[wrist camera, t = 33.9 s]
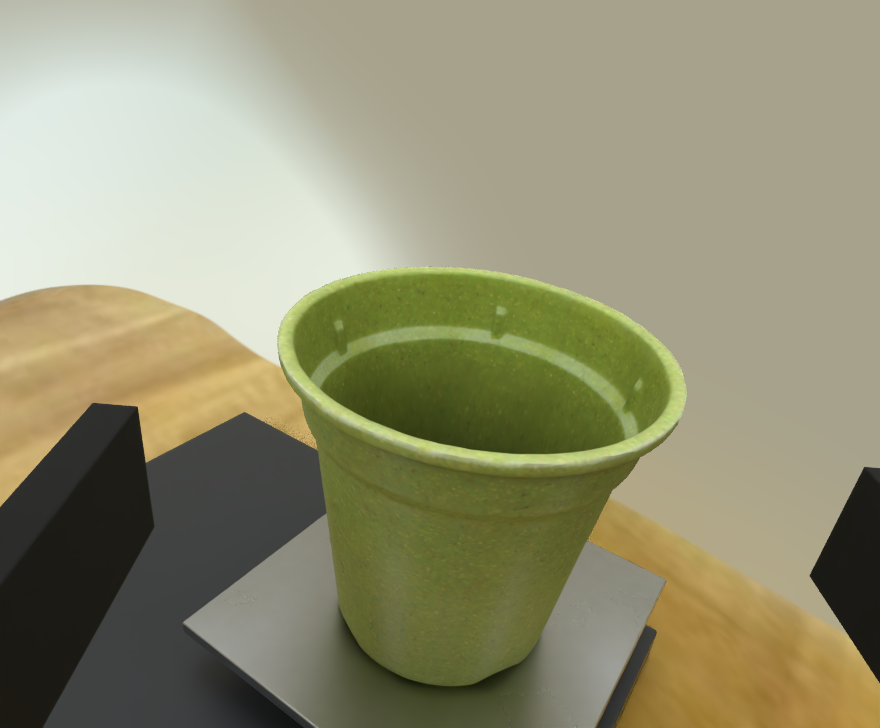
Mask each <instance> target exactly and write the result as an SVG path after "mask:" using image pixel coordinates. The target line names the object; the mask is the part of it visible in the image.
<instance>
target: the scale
mask: <svg viewBox="0 0 880 728" xmlns="http://www.w3.org/2000/svg"><path fill="white" fill-rule="evenodd" d="M146 470H147V477H148V484H149V491H150V498H151V505H152V512H153V519H154V526H155V527H154V529H153V530H152V532H151V534H150V536H149V538H148V539H147V541H146V543H145V545H144V547H143V548H142V550H141V552H140V554H139V556H138V557H137V559H136V561H135V563H134V565H133V566H132V568H131V570H130V572H129V574H128V575H127V577H126V579H125V581H124V583H123V584H122V586H121V588H120V590H119V592H118V593H117V595H116V597H115V599H114V601H113V602H112V604H111V606H110V608H109V610H108V611H107V613H106V615H105V617H104V619H103V620H102V622H101V624H100V626H99V628H98V629H97V631H96V633H95V635H94V637H93V638H92V640H91V642H90V644H89V646H88V647H87V649H86V651H85V653H84V655H83V656H82V658H81V660H80V662H79V664H78V665H77V667H76V669H75V671H74V672H73V674H72V676H71V678H70V680H69V681H68V683H67V685H66V687H65V689H64V690H63V692H62V694H61V696H60V698H59V699H58V701H57V703H56V705H55V707H54V708H53V710H52V712H51V714H50V716H49V717H48V719H47V721H46V723H45V725H44V726H43V728H304V727H303V726H301V725H300V724H299V723H298V722H296V721H295V720H294V719H292V718H291V717H290V716H289V715H287V714H286V713H285V712H284V711H282V710H281V709H280V708H279V707H277V706H276V705H275V704H274V703H272V702H271V701H270V700H269V699H267V698H266V697H265V696H264V695H262V694H261V693H260V692H259V691H257V690H256V689H255V688H254V687H252V686H251V685H250V684H249V683H247V682H246V681H245V680H244V679H242V678H241V677H240V676H239V675H237V674H236V673H235V672H233V671H232V670H231V669H230V668H228V667H227V666H226V665H225V664H223V663H222V662H221V661H220V660H218V659H217V658H216V657H215V656H213V655H212V654H211V653H210V652H208V651H207V650H206V649H205V648H203V647H202V646H201V645H200V644H198V643H197V642H196V641H195V640H193V639H192V638H191V637H190V636H188V635H187V634H186V633H185V632H184V631H183V622H184V621H185V620H186V619H188V618H189V617H190V616H192V615H193V614H194V613H196V612H197V611H198V610H200V609H201V608H202V607H204V606H205V605H206V604H208V603H209V602H210V601H211V600H213V599H214V598H215V597H217V596H218V595H219V594H221V593H222V592H223V591H225V590H226V589H227V588H229V587H230V586H231V585H233V584H234V583H235V582H237V581H238V580H239V579H240V578H242V577H243V576H244V575H246V574H247V573H248V572H250V571H251V570H252V569H254V568H255V567H256V566H258V565H259V564H260V563H262V562H263V561H264V560H265V559H267V558H268V557H269V556H271V555H272V554H273V553H275V552H276V551H277V550H279V549H280V548H281V547H283V546H284V545H285V544H287V543H288V542H289V541H290V540H292V539H293V538H294V537H296V536H297V535H298V534H300V533H301V532H302V531H304V530H305V529H306V528H308V527H309V526H310V525H312V524H313V523H314V522H316V521H317V520H318V519H319V518H321V517H322V516H323V515H325V514H326V513H327V512H326V505H325V498H324V491H323V485H322V478H321V471H320V463H319V456H318V451H317V450H315V449H313V448H312V447H310V446H308V445H306V444H304V443H302V442H300V441H298V440H296V439H295V438H293V437H291V436H289V435H287V434H285V433H283V432H281V431H280V430H278V429H276V428H274V427H272V426H270V425H268V424H266V423H264V422H263V421H261V420H259V419H257V418H255V417H253V416H251V415H249V414H248V413H246V412H244V413H242V414H240V415H238V416H236V417H234V418H232V419H230V420H228V421H226V422H224V423H222V424H220V425H218V426H216V427H215V428H213V429H211V430H209V431H207V432H205V433H203V434H201V435H199V436H197V437H195V438H193V439H191V440H189V441H187V442H185V443H184V444H182V445H180V446H178V447H176V448H174V449H172V450H170V451H168V452H166V453H164V454H162V455H160V456H158V457H156V458H154V459H153V460H151V461H149V462H147V463H146ZM656 633H657V632H656V630H654V629H652V628H651V627H649V626H647V625H646V626H645V628H644V630H643V632H642V634H641V636H640V638H639V640H638V642H637V644H636V646H635V648H634V650H633V653H632V655H631V657H630V659H629V661H628V663H627V665H626V667H625V669H624V671H623V673H622V675H621V677H620V679H619V682H618V684H617V686H616V688H615V690H614V692H613V694H612V696H611V698H610V700H609V702H608V704H607V706H606V708H605V711H604V713H603V715H602V717H601V719H600V721H599V723H598V725H597V727H596V728H615V727H616V725H617V723H618V721H619V718H620V716H621V714H622V712H623V710H624V707H625V705H626V703H627V701H628V699H629V696H630V694H631V692H632V690H633V688H634V685H635V683H636V681H637V679H638V677H639V674H640V672H641V670H642V668H643V666H644V663H645V661H646V659H647V657H648V655H649V652H650V649H651V647H652V644H653V641H654V639H655V636H656Z"/></svg>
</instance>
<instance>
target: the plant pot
mask: <svg viewBox="0 0 880 728" xmlns="http://www.w3.org/2000/svg"><path fill="white" fill-rule="evenodd" d="M278 354H279V360H280V364H281V367H282V370H283V372H284V374H285V376H286V379H287V381H288V382H289V384H290V386H291V387H292V388H293V390H294V391H295V392H296V394H297V395H298V396H299V397H300V398H301V400H302V406H303V411H304V415H305V419H306V421H307V424H308V426H309V428H310V431H311V433H312V434H313V436H314V438H315V439H316V443H317V449H318V456H319V463H320V471H321V478H322V485H323V491H324V498H325V505H326V512H327V519H328V526H329V534H330V541H331V549H332V556H333V564H334V571H335V579H336V586H337V594H338V601H339V606H340V609H341V612H342V615H343V617H344V619H345V621H346V623H347V624H348V626H349V628H350V630H351V632H352V634H353V635H354V637H355V639H356V640H357V642H358V644H359V646H360V647H361V648H362V650H363V651H364V652H366V653H367V654H368V655H369V656H370V657H371V658H372V659H373V660H375V661H376V662H377V663H379V664H380V665H381V666H383V667H385V668H387V669H388V670H390V671H392V672H394V673H396V674H398V675H400V676H402V677H405V678H407V679H410V680H414V681H418V682H421V683H425V684H432V685H439V686H465V685H471V684H474V683H477V682H479V681H481V680H483V679H485V678H487V677H489V676H491V675H493V674H495V673H497V672H499V671H501V670H504V669H506V668H508V667H511V666H513V665H515V664H519V663H520V662H521V661H523V660H524V659H525V658H526V657H527V656H528V654H529V653H530V652H531V651H532V649H533V648H534V646H535V645H536V643H537V641H538V639H539V637H540V635H541V633H542V631H543V629H544V627H545V626H546V624H547V622H548V620H549V618H550V616H551V613H552V611H553V609H554V607H555V605H556V603H557V601H558V599H559V597H560V594H561V592H562V590H563V588H564V586H565V584H566V582H567V580H568V578H569V576H570V574H571V572H572V570H573V568H574V566H575V564H576V562H577V560H578V558H579V556H580V554H581V552H582V550H583V548H584V546H585V544H586V542H587V540H588V538H589V536H590V534H591V532H592V530H593V528H594V526H595V524H596V522H597V520H598V518H599V516H600V514H601V512H602V510H603V508H604V506H605V504H606V502H607V500H608V498H609V496H610V494H611V492H612V490H613V489H614V488H616V487H617V486H618V485H619V484H620V483H621V482H622V481H623V480H624V479H626V478H627V476H628V475H629V474H630V472H631V471H632V470H633V468H634V467H635V465H636V463H637V462H638V460H639V458H640V457H641V456H643V455H645V454H647V453H648V452H650V451H652V450H653V449H654V448H656V447H657V446H659V445H660V444H661V443H663V441H665V439H666V438H667V437H668V436H669V435H670V434H671V433H672V431H673V430H674V429H675V427H676V426H677V424H678V422H679V420H680V418H681V416H682V413H683V411H684V409H685V404H686V400H687V389H686V383H685V379H684V375H683V372H682V370H681V368H680V366H679V364H678V362H677V361H676V359H675V358H674V356H673V355H672V354H671V353H670V351H669V350H668V349H667V348H666V347H664V345H663V344H662V343H661V342H660V341H659V340H658V339H657V338H655V337H654V336H653V335H652V334H651V333H650V332H649V331H648V330H646V329H645V328H643V327H642V326H641V325H639V324H637V323H635V322H634V321H632V320H630V318H628V317H627V316H625V315H624V314H622V313H620V312H619V311H616V310H614V309H612V308H610V307H608V306H606V305H605V304H602V303H600V302H598V301H596V300H593V299H591V298H588V297H586V296H583V295H580V294H577V293H574V292H572V291H570V290H566V289H563V288H561V287H557V286H553V285H551V284H547V283H544V282H541V281H538V280H534V279H529V278H525V277H520V276H515V275H512V274H505V273H500V272H495V271H487V270H481V269H469V268H456V267H416V268H415V267H413V268H396V269H386V270H381V271H373V272H368V273H364V274H358V275H354V276H351V277H347V278H344V279H340V280H337V281H334V282H332V283H330V284H326V285H324V286H322V287H321V288H319V289H317V290H314V291H312V292H310V293H309V294H307V295H305V296H304V297H303V298H302V299H300V300H299V301H298V302H297V303H296V304H295V305H294V306H293V307H292V308H291V309H290V310H289V311H288V313H287V314H286V315H285V317H284V319H283V320H282V322H281V325H280V328H279V333H278Z"/></svg>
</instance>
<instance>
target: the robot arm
mask: <svg viewBox="0 0 880 728" xmlns="http://www.w3.org/2000/svg"><path fill="white" fill-rule="evenodd" d="M154 527H155V526H154V519H153V512H152V505H151V498H150V491H149V484H148V477H147V470H146V463H145V456H144V448H143V441H142V434H141V427H140V420H139V413H138V407H135V406H123V405H111V404H99V403H92V405H91V406H90V407H89V408H88V409H87V410H86V411H85V412H84V414H83V415H82V416H81V417H80V418H79V419H78V420H77V421H76V422H75V424H74V425H73V426H72V427H71V428H70V429H69V430H68V431H67V433H66V434H65V435H64V436H63V437H62V438H61V439H60V440H59V442H58V443H57V444H56V445H55V446H54V447H53V448H52V449H51V451H50V452H49V453H48V454H47V455H46V456H45V457H44V458H43V460H42V461H41V462H40V463H39V464H38V465H37V466H36V467H35V469H34V470H33V471H32V472H31V473H30V474H29V475H28V476H27V478H26V479H25V480H24V481H23V482H22V483H21V484H20V485H19V487H18V488H17V489H16V490H15V491H14V492H13V493H12V494H11V496H10V497H9V498H8V499H7V500H6V501H5V502H4V503H3V505H2V506H1V507H0V728H43V726H44V725H45V723H46V721H47V719H48V717H49V716H50V714H51V712H52V710H53V708H54V707H55V705H56V703H57V701H58V699H59V698H60V696H61V694H62V692H63V690H64V689H65V687H66V685H67V683H68V681H69V680H70V678H71V676H72V674H73V672H74V671H75V669H76V667H77V665H78V664H79V662H80V660H81V658H82V656H83V655H84V653H85V651H86V649H87V647H88V646H89V644H90V642H91V640H92V638H93V637H94V635H95V633H96V631H97V629H98V628H99V626H100V624H101V622H102V620H103V619H104V617H105V615H106V613H107V611H108V610H109V608H110V606H111V604H112V602H113V601H114V599H115V597H116V595H117V593H118V592H119V590H120V588H121V586H122V584H123V583H124V581H125V579H126V577H127V575H128V574H129V572H130V570H131V568H132V566H133V565H134V563H135V561H136V559H137V557H138V556H139V554H140V552H141V550H142V548H143V547H144V545H145V543H146V541H147V539H148V538H149V536H150V534H151V532H152V530H153V529H154ZM810 577H811V579H812V580H813V582H814V583H815V585H816V586H817V588H818V589H819V591H820V593H821V594H822V596H823V597H824V598H825V600H826V602H827V603H828V605H829V606H830V608H831V609H832V611H833V612H834V614H835V615H836V617H837V618H838V620H839V622H840V623H841V625H842V626H843V628H844V629H845V631H846V632H847V634H848V635H849V637H850V638H851V640H852V641H853V643H854V645H855V646H856V648H857V649H858V651H859V652H860V654H861V655H862V657H863V658H864V660H865V661H866V663H867V664H868V666H869V667H870V669H871V671H872V672H873V674H874V675H875V677H876V678H877V680H878V681H879V683H880V468H870V467H864V469H863V471H862V473H861V475H860V477H859V479H858V481H857V483H856V485H855V487H854V489H853V491H852V492H851V495H850V496H849V499H848V500H847V502H846V504H845V506H844V508H843V511H842V513H841V514H840V516H839V518H838V520H837V522H836V524H835V526H834V528H833V530H832V532H831V534H830V536H829V538H828V540H827V542H826V544H825V546H824V548H823V550H822V552H821V554H820V556H819V558H818V560H817V562H816V564H815V566H814V568H813V570H812V572H811V574H810Z"/></svg>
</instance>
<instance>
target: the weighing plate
mask: <svg viewBox="0 0 880 728" xmlns="http://www.w3.org/2000/svg"><path fill="white" fill-rule="evenodd" d="M665 583H666V579H664V578H662V577H660V576H658V575H656V574H654V573H652V572H650V571H648V570H646V569H644V568H642V567H640V566H637V565H635V564H633V563H631V562H629V561H627V560H625V559H623V558H621V557H619V556H617V555H615V554H613V553H611V552H609V551H607V550H605V549H603V548H601V547H599V546H597V545H595V544H593V543H591V542H589V541H587V542H586V544H585V546H584V548H583V550H582V552H581V554H580V556H579V558H578V560H577V562H576V564H575V566H574V568H573V570H572V572H571V574H570V576H569V578H568V580H567V582H566V584H565V586H564V588H563V590H562V592H561V594H560V597H559V599H558V601H557V603H556V605H555V607H554V609H553V611H552V613H551V616H550V618H549V620H548V622H547V624H546V626H545V627H544V629H543V631H542V633H541V635H540V637H539V639H538V641H537V643H536V645H535V646H534V648H533V649H532V651H531V652H530V653H529V654H528V656H527V657H526V658H525V659H524V660H523V661H521V662H520V663H519V664H515V665H513V666H511V667H508V668H506V669H504V670H501V671H499V672H497V673H495V674H493V675H491V676H489V677H487V678H485V679H483V680H481V681H479V682H477V683H474V684H471V685H465V686H439V685H432V684H425V683H421V682H418V681H414V680H410V679H407V678H405V677H402V676H400V675H398V674H396V673H394V672H392V671H390V670H388V669H387V668H385V667H383V666H381V665H380V664H379V663H377V662H376V661H375V660H373V659H372V658H371V657H370V656H369V655H368V654H367V653H366V652H364V651H363V650H362V648H361V647H360V646H359V644H358V642H357V640H356V639H355V637H354V635H353V634H352V632H351V630H350V628H349V626H348V624H347V623H346V621H345V619H344V617H343V615H342V612H341V609H340V606H339V601H338V594H337V586H336V579H335V571H334V564H333V556H332V549H331V541H330V534H329V526H328V519H327V513H326V514H325V515H323V516H322V517H321V518H319V519H318V520H317V521H316V522H314V523H313V524H312V525H310V526H309V527H308V528H306V529H305V530H304V531H302V532H301V533H300V534H298V535H297V536H296V537H294V538H293V539H292V540H290V541H289V542H288V543H287V544H285V545H284V546H283V547H281V548H280V549H279V550H277V551H276V552H275V553H273V554H272V555H271V556H269V557H268V558H267V559H265V560H264V561H263V562H262V563H260V564H259V565H258V566H256V567H255V568H254V569H252V570H251V571H250V572H248V573H247V574H246V575H244V576H243V577H242V578H240V579H239V580H238V581H237V582H235V583H234V584H233V585H231V586H230V587H229V588H227V589H226V590H225V591H223V592H222V593H221V594H219V595H218V596H217V597H215V598H214V599H213V600H211V601H210V602H209V603H208V604H206V605H205V606H204V607H202V608H201V609H200V610H198V611H197V612H196V613H194V614H193V615H192V616H190V617H189V618H188V619H186V620H185V621H184V622H183V631H184V632H185V633H186V634H187V635H188V636H190V637H191V638H192V639H193V640H195V641H196V642H197V643H198V644H200V645H201V646H202V647H203V648H205V649H206V650H207V651H208V652H210V653H211V654H212V655H213V656H215V657H216V658H217V659H218V660H220V661H221V662H222V663H223V664H225V665H226V666H227V667H228V668H230V669H231V670H232V671H233V672H235V673H236V674H237V675H239V676H240V677H241V678H242V679H244V680H245V681H246V682H247V683H249V684H250V685H251V686H252V687H254V688H255V689H256V690H257V691H259V692H260V693H261V694H262V695H264V696H265V697H266V698H267V699H269V700H270V701H271V702H272V703H274V704H275V705H276V706H277V707H279V708H280V709H281V710H282V711H284V712H285V713H286V714H287V715H289V716H290V717H291V718H292V719H294V720H295V721H296V722H298V723H299V724H300V725H301V726H303V727H304V728H596V727H597V725H598V723H599V721H600V719H601V717H602V715H603V713H604V711H605V708H606V706H607V704H608V702H609V700H610V698H611V696H612V694H613V692H614V690H615V688H616V686H617V684H618V682H619V679H620V677H621V675H622V673H623V671H624V669H625V667H626V665H627V663H628V661H629V659H630V657H631V655H632V653H633V650H634V648H635V646H636V644H637V642H638V640H639V638H640V636H641V634H642V632H643V630H644V628H645V626H646V624H647V622H648V619H649V617H650V615H651V613H652V611H653V609H654V607H655V605H656V603H657V601H658V599H659V597H660V595H661V593H662V590H663V588H664V586H665Z"/></svg>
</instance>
